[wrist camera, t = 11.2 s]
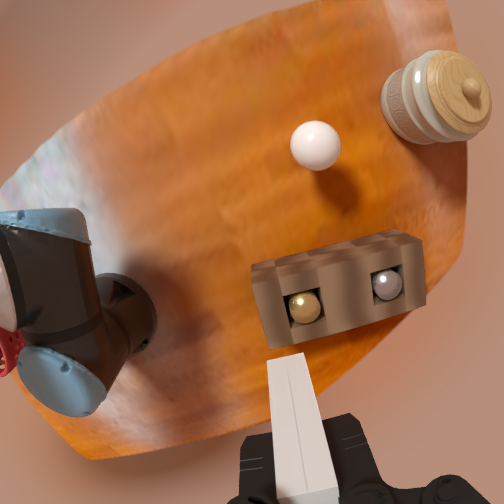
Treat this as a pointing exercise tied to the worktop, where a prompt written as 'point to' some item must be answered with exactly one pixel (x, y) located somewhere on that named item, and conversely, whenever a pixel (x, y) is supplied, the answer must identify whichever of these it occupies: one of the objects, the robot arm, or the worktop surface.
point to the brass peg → (303, 306)
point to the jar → (437, 99)
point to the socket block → (338, 286)
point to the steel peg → (386, 283)
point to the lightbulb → (315, 145)
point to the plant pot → (10, 349)
